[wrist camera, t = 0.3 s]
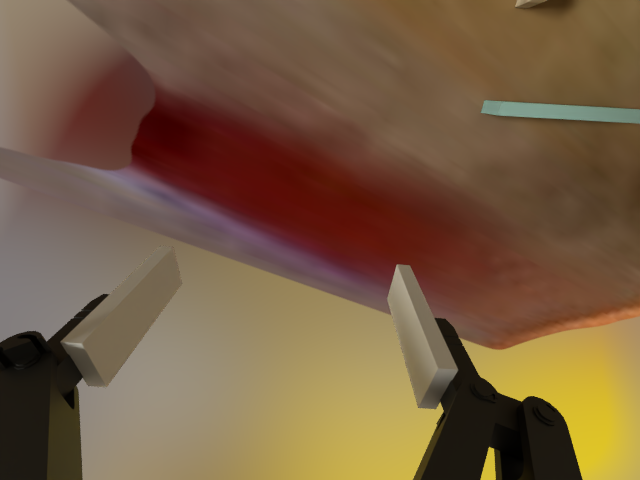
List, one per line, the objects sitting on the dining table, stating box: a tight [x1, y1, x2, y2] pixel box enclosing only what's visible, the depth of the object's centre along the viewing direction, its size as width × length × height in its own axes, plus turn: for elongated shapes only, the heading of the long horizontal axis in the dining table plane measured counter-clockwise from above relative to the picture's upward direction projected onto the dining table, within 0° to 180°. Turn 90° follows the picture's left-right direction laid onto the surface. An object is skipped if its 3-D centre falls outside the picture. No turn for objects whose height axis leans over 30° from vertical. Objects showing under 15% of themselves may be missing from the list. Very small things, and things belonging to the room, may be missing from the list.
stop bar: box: [481, 100, 640, 123], centre depth 34 cm, size 2×18×4 cm, turn 87°
